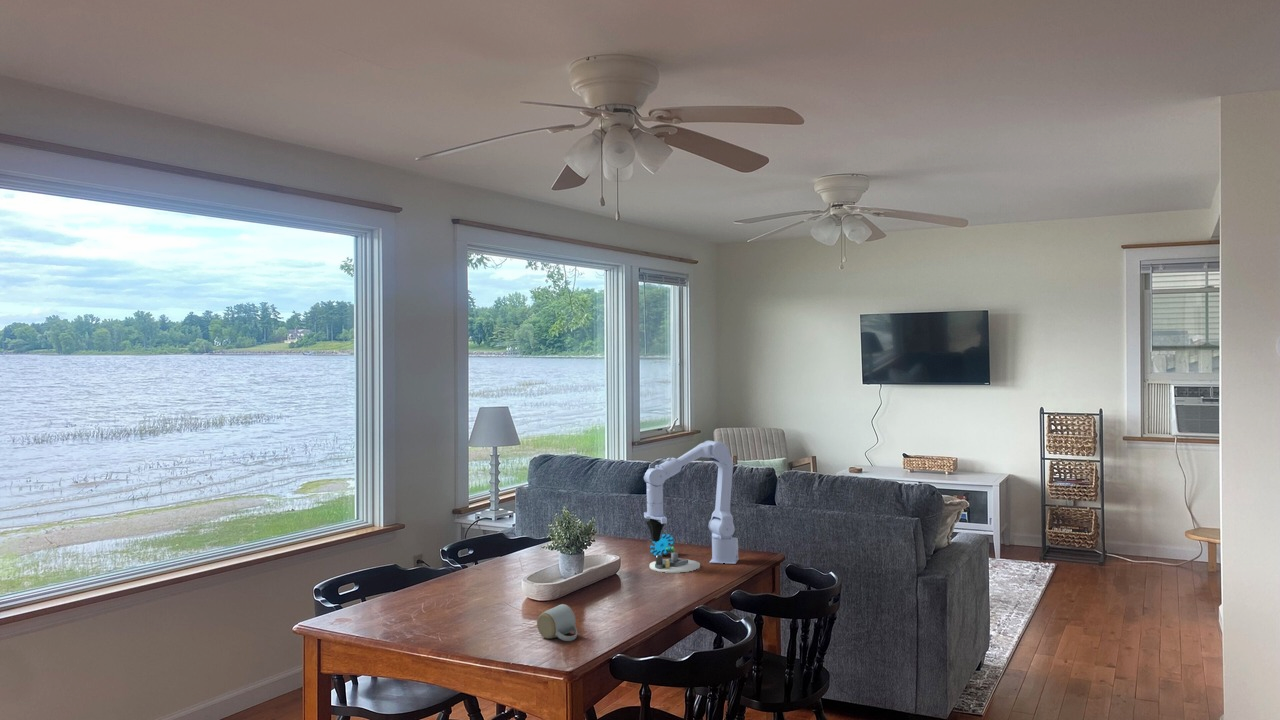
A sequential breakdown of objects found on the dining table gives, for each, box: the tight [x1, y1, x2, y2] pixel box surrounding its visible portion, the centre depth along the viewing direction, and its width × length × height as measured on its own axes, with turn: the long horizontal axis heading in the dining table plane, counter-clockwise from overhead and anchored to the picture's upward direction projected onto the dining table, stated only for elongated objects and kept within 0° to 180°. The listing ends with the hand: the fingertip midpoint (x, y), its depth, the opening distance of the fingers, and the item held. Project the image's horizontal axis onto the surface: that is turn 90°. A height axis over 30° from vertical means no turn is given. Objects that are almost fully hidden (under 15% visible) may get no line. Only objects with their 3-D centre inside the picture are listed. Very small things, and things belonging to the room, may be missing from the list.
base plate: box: [649, 551, 701, 574], centre depth 310 cm, size 18×18×5 cm
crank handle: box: [655, 554, 689, 569], centre depth 308 cm, size 13×7×4 cm, turn 135°
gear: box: [649, 533, 676, 557], centre depth 331 cm, size 11×6×10 cm
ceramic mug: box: [536, 603, 578, 642], centre depth 232 cm, size 11×8×8 cm
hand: (655, 541), depth 308 cm, fingers closed
